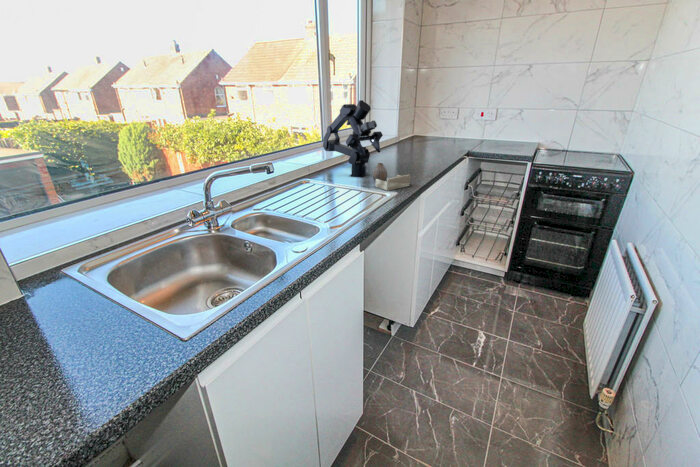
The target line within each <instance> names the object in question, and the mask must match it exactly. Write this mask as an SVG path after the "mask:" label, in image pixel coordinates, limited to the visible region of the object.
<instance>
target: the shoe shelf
mask: <svg viewBox="0 0 700 467" xmlns="http://www.w3.org/2000/svg"><path fill="white" fill-rule="evenodd" d="M374 183H375V184H374V185H375V187H376V188H379V189H381V190H384V191H388V192H389V191H393V190H397V189H402V188H406V187H410V186H411V174H405V175H400V174H396V175H395V177H390V178H389V177H388V178H387V179H386V181H382V180H379V179H376V181H374Z"/></svg>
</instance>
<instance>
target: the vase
mask: <svg viewBox="0 0 700 467" xmlns="http://www.w3.org/2000/svg"><path fill="white" fill-rule="evenodd" d="M376 179H379V180H382V181H385V182H387V179H388V169H387V168H386V167H385V165H384V163H383V162H378V163H377V164H376V166H375V167H374V169H373V170H372V180H373V181H374V182H375V181H376Z"/></svg>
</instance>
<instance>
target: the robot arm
mask: <svg viewBox="0 0 700 467" xmlns="http://www.w3.org/2000/svg"><path fill="white" fill-rule="evenodd" d="M371 108H372V107H371V105H370V104H368V103H367V102H365V101H364V99H361V100H358V102H357V105H356V103H346V104H342V105H341V108H340V109H339V114H338V115H337V116H336V118H334V120H333V121H332V122H331V124H329V125H328V126H327V127H326V133H325V134H324V136H323V140H322V147H323V150H324V151H325V152H336V153H339V154H342V155H345V156H348V157H349V158H348V159H347V160H348V164H349V165H351V174H350V177H355V178H356V177H357V178H364V177H365V176H366V175H367V165H366V164H368V163H369V160H370V157H371V156H370V155H371V153H370V150H369V149H368V148H367V146H363V145H362V143H361V142H365V141H369V142H370V143H371V144H370V145H371V146H372V147H373V148H374V150H375V151H376V152H377V153H379V154H380V152H381V146H380V145H381V144H380V141H381V138H383V133H382V131H374V132H373V130H375V129H376V128H377V127H378V123H377V121H376V120H371V121H366V122H363V120H365V119H366V118H367V116H368V114H369V113H370V111H371V110H372V109H371ZM345 124H346V126H350V127H351V129H352V133H350V134H349V135H348V136H347V139H346V140H345V144H343V143H341V138H340V135H339V130H340V129H341V128H342V127H343V126H344V125H345ZM372 132H373V133H372ZM333 134H334V137H335V138H334V139H330V137H331V136H332V135H333ZM370 134H371V135H370Z"/></svg>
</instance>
